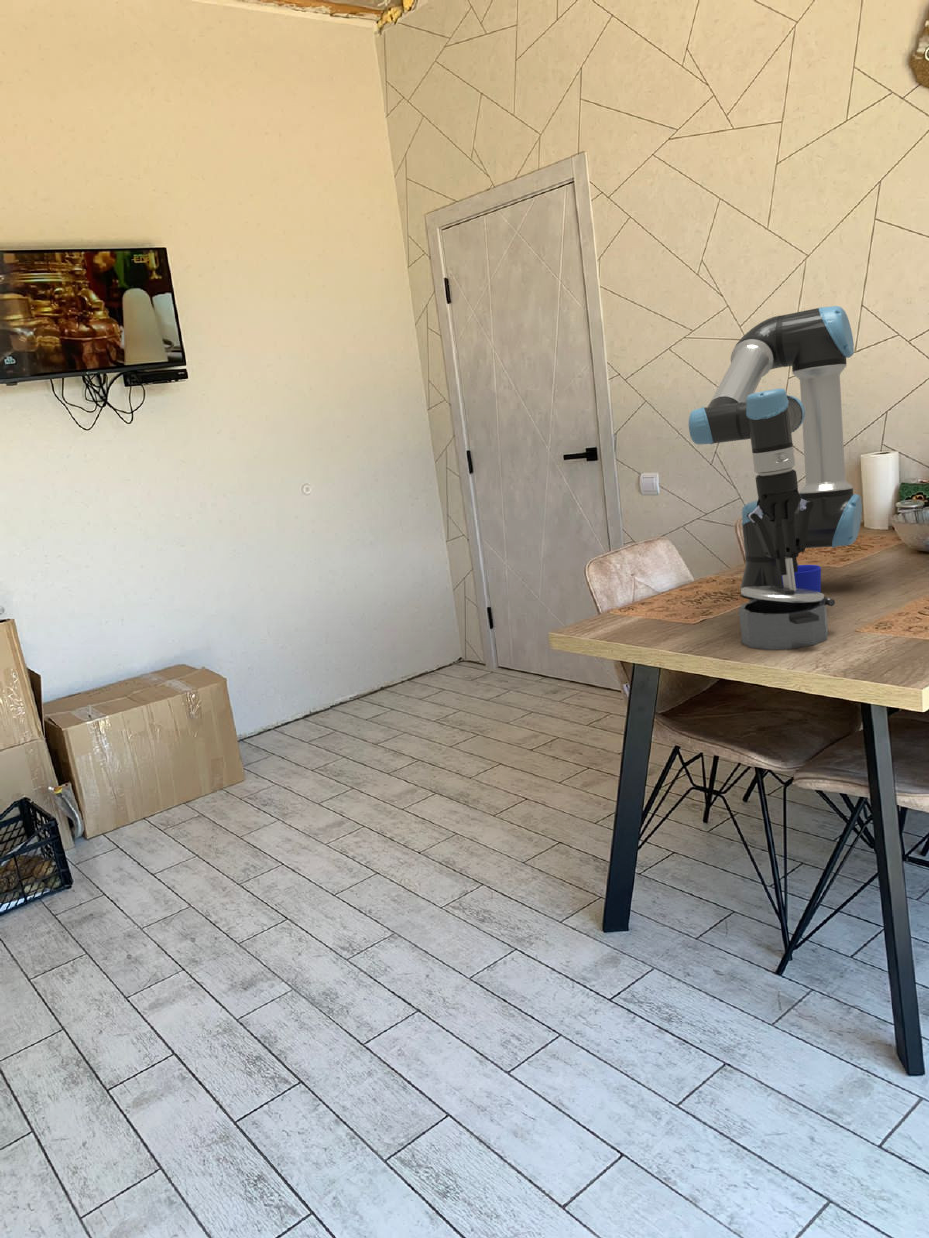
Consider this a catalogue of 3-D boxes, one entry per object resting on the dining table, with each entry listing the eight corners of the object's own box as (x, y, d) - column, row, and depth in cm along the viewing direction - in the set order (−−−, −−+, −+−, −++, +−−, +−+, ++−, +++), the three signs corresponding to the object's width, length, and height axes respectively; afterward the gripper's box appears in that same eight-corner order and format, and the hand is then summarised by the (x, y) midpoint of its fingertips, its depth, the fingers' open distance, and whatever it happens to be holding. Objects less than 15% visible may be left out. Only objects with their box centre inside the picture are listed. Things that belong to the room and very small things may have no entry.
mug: (823, 603, 210) (820, 560, 208) (824, 616, 199) (821, 570, 197) (784, 606, 213) (781, 563, 211) (784, 619, 202) (780, 573, 200)
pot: (725, 634, 197) (722, 601, 196) (805, 620, 198) (803, 588, 197) (769, 657, 175) (766, 621, 174) (859, 642, 177) (856, 606, 175)
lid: (729, 589, 192) (729, 581, 192) (801, 590, 193) (802, 582, 193) (759, 601, 177) (760, 593, 176) (838, 603, 178) (839, 594, 178)
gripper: (751, 479, 176) (767, 599, 181) (815, 465, 177) (829, 586, 182) (736, 477, 183) (751, 593, 188) (797, 464, 184) (811, 580, 189)
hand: (790, 589), depth 185 cm, fingers closed
